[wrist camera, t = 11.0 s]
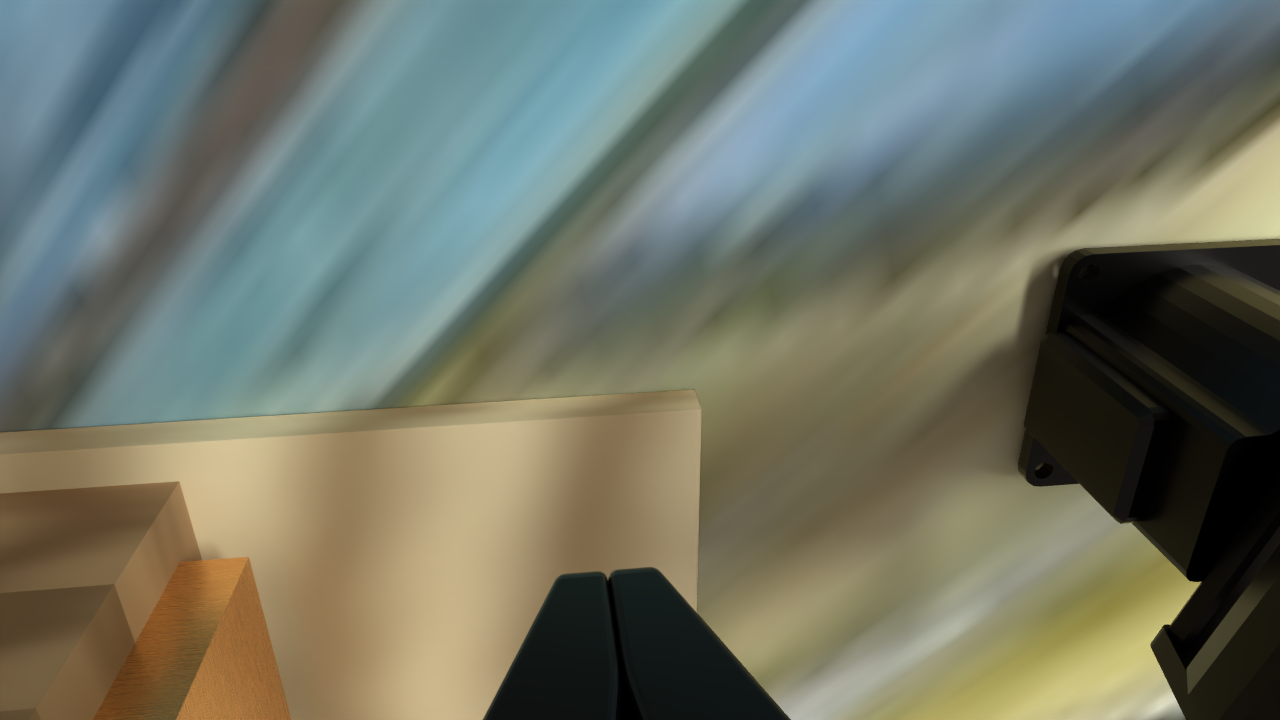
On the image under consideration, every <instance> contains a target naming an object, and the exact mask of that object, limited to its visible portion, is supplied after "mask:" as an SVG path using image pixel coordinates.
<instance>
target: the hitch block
mask: <svg viewBox="0 0 1280 720" xmlns="http://www.w3.org/2000/svg"><path fill="white" fill-rule="evenodd" d="M700 450H701V407H700V404H699V401H698V398H697V395H696V392H695V390H694V389H693V390H677V391H661V392H645V393H629V394H613V395H597V396H580V397H564V398H548V399H532V400H516V401H500V402H484V403H468V404H452V405H436V406H420V407H403V408H387V409H371V410H355V411H339V412H323V413H307V414H291V415H275V416H259V417H243V418H227V419H210V420H194V421H178V422H162V423H146V424H130V425H114V426H98V427H82V428H66V429H50V430H33V431H17V432H1V433H0V720H93V719H94V717H95V715H96V713H97V711H98V709H99V708H100V706H101V704H102V702H103V700H104V699H105V697H106V695H107V693H108V691H109V689H110V688H111V686H112V684H113V682H114V680H115V679H116V677H117V675H118V673H119V671H120V670H121V668H122V666H123V664H124V662H125V660H126V659H127V657H128V655H129V653H130V651H131V650H132V648H133V646H134V644H135V642H136V640H137V639H138V637H139V635H140V633H141V631H142V630H143V628H144V626H145V624H146V622H147V621H148V619H149V617H150V615H151V613H152V611H153V610H154V608H155V606H156V604H157V602H158V601H159V599H160V597H161V595H162V593H163V591H164V590H165V588H166V586H167V584H168V582H169V581H170V579H171V577H172V575H173V573H174V572H175V570H176V568H177V566H178V564H179V562H187V561H200V560H213V559H226V558H239V557H249V559H250V563H251V567H252V571H253V575H254V579H255V582H256V586H257V590H258V594H259V598H260V602H261V605H262V609H263V613H264V617H265V621H266V625H267V628H268V632H269V636H270V640H271V644H272V648H273V651H274V655H275V659H276V663H277V667H278V671H279V674H280V678H281V682H282V686H283V690H284V694H285V697H286V701H287V705H288V709H289V713H290V717H291V720H483V718H484V716H485V714H486V712H487V710H488V708H489V706H490V704H491V702H492V700H493V699H494V697H495V695H496V693H497V691H498V689H499V687H500V685H501V683H502V681H503V679H504V677H505V675H506V673H507V672H508V670H509V668H510V666H511V664H512V662H513V660H514V658H515V656H516V654H517V652H518V650H519V648H520V646H521V645H522V643H523V641H524V639H525V637H526V635H527V633H528V631H529V629H530V627H531V625H532V623H533V621H534V619H535V618H536V616H537V614H538V612H539V610H540V608H541V606H542V604H543V602H544V600H545V598H546V596H547V594H548V592H549V591H550V589H551V587H552V585H553V583H554V581H555V580H556V578H557V577H558V576H560V575H562V574H568V573H580V572H593V571H601V572H603V573H605V575H606V576H607V579H608V577H609V575H610V573H611V572H612V571H613V570H617V569H630V568H642V567H654V568H656V569H658V570H659V571H660V572H661V573H662V574H663V575H664V576H665V577H666V578H667V579H668V581H669V582H670V583H671V584H672V585H673V586H674V587H675V588H676V590H677V591H678V592H679V593H680V594H681V595H682V596H683V598H684V599H685V600H686V601H687V602H688V603H689V604H690V606H691V607H692V608H693V609H694V610H695V611H696V612H697V576H698V534H699V492H700Z"/></svg>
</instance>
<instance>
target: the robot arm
mask: <svg viewBox="0 0 1280 720" xmlns="http://www.w3.org/2000/svg"><path fill="white" fill-rule="evenodd" d="M1089 264H1090V269H1089V271H1088V273H1087V274H1086V275H1085V276H1083V277H1081V278H1079V273H1080V271H1081V269H1083V268H1084V267H1085V266H1086V265H1089ZM1024 427H1025V428H1026V430H1025V435H1024V439H1023V444H1022V449H1021V453H1020V458H1019V463H1018V470H1019V472H1020V473H1021V475H1022V476H1023V477H1024V478H1025V479H1026V480H1027V482H1028V483H1030V484H1031V485H1033V486H1053V485H1066V484H1081V486H1082V487H1083V488H1084V489H1085V490H1086V491H1087V492H1088V493H1089V494H1090V495H1091V496H1092V497H1093V498H1094V499H1095V500H1096V501H1097V502H1098V503H1099V504H1100V505H1101V506H1102V507H1103V508H1104V509H1105V510H1106V511H1107V512H1108V513H1109V514H1110V515H1111V516H1112V517H1113V518H1114V519H1115V520H1116V521H1117V522H1119V523H1121V524H1122V523H1132V524H1133V525H1134V526H1135V527H1136V528H1137V529H1138V530H1139V531H1140V532H1141V533H1142V534H1143V535H1144V536H1145V537H1146V538H1147V539H1148V540H1149V541H1150V542H1151V543H1152V544H1153V545H1154V546H1155V547H1156V548H1157V549H1158V550H1159V551H1160V552H1161V553H1162V554H1163V555H1164V556H1165V557H1166V558H1167V559H1168V560H1169V561H1170V562H1171V563H1172V564H1173V565H1174V566H1175V567H1176V568H1177V569H1178V570H1179V571H1180V572H1181V573H1182V574H1183V575H1184V576H1185V577H1186V578H1187V579H1188V580H1189V581H1193V582H1201V581H1202V582H1201V583H1200V585H1199V586H1198V588H1197V589H1196V590H1195V592H1194V593H1193V594H1192V596H1191V597H1190V599H1189V600H1188V601H1187V603H1186V604H1185V606H1184V607H1183V608H1182V610H1181V611H1180V612H1179V614H1178V615H1177V617H1176V618H1175V619H1174V621H1173V622H1172V624H1171V625H1164V626H1163V627H1162V629H1161V630H1160V631H1159V633H1158V634H1157V636H1156V637H1155V638H1154V640H1153V641H1152V642H1151V644H1150V645H1151V648H1152V650H1153V652H1154V655H1155V657H1156V659H1157V661H1158V663H1159V665H1160V667H1161V669H1162V671H1163V673H1164V675H1165V677H1166V679H1167V681H1168V683H1169V685H1170V687H1171V690H1172V692H1173V694H1174V696H1175V698H1176V700H1177V702H1178V704H1179V706H1180V708H1181V710H1182V712H1183V714H1184V716H1185V718H1186V720H1280V239H1268V240H1247V241H1227V242H1206V243H1186V244H1165V245H1145V246H1125V247H1104V248H1084V249H1080V250H1076V251H1074V252H1073V253H1071V254H1070V255H1068V257H1067V258H1066V259H1065V260H1064V261H1063V263H1062V266H1061V268H1060V271H1059V276H1058V281H1057V285H1056V290H1055V295H1054V299H1053V304H1052V309H1051V313H1050V318H1049V323H1048V327H1047V332H1046V336H1045V338H1044V339H1043V341H1042V342H1041V345H1040V350H1039V355H1038V359H1037V364H1036V369H1035V373H1034V378H1033V383H1032V388H1031V392H1030V397H1029V402H1028V406H1027V411H1026V416H1025V420H1024ZM1042 463H1044V465H1043V466H1042V467H1041V468H1040V469H1038V470H1035V469H1036V467H1037V466H1039V465H1040V464H1042ZM483 720H791V719H790V718H789V717H788V716H787V715H786V714H785V713H784V711H783V710H782V709H781V708H780V707H779V706H778V705H777V703H776V702H775V701H774V700H773V699H772V698H771V697H770V696H769V694H768V693H767V692H766V691H765V690H764V689H763V688H762V686H761V685H760V684H759V683H758V682H757V681H756V680H755V678H754V677H753V676H752V675H751V674H750V673H749V672H748V670H747V669H746V668H745V667H744V666H743V665H742V664H741V663H740V661H739V660H738V659H737V658H736V657H735V656H734V655H733V653H732V652H731V651H730V650H729V649H728V648H727V647H726V645H725V644H724V643H723V642H722V641H721V640H720V639H719V637H718V636H717V635H716V634H715V633H714V632H713V631H712V629H711V628H710V627H709V626H708V625H707V624H706V623H705V622H704V620H703V619H702V618H701V617H700V616H699V615H698V614H697V612H696V611H695V610H694V609H693V608H692V607H691V606H690V604H689V603H688V602H687V601H686V600H685V599H684V598H683V596H682V595H681V594H680V593H679V592H678V591H677V590H676V588H675V587H674V586H673V585H672V584H671V583H670V582H669V581H668V579H667V578H666V577H665V576H664V575H663V574H662V573H661V572H660V571H659V570H658V569H656V568H654V567H642V568H630V569H617V570H613V571H612V572H611V573H610V575H609V577H608V579H607V576H606V575H605V573H603V572H601V571H593V572H580V573H568V574H562V575H560V576H558V577H557V578H556V580H555V581H554V583H553V585H552V587H551V589H550V591H549V592H548V594H547V596H546V598H545V600H544V602H543V604H542V606H541V608H540V610H539V612H538V614H537V616H536V618H535V619H534V621H533V623H532V625H531V627H530V629H529V631H528V633H527V635H526V637H525V639H524V641H523V643H522V645H521V646H520V648H519V650H518V652H517V654H516V656H515V658H514V660H513V662H512V664H511V666H510V668H509V670H508V672H507V673H506V675H505V677H504V679H503V681H502V683H501V685H500V687H499V689H498V691H497V693H496V695H495V697H494V699H493V700H492V702H491V704H490V706H489V708H488V710H487V712H486V714H485V716H484V718H483Z"/></svg>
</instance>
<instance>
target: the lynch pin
mask: <svg viewBox="0 0 1280 720" xmlns="http://www.w3.org/2000/svg"><path fill="white" fill-rule="evenodd" d="M93 720H291V717H290V713H289V709H288V705H287V701H286V697H285V694H284V690H283V686H282V682H281V678H280V674H279V671H278V667H277V663H276V659H275V655H274V651H273V648H272V644H271V640H270V636H269V632H268V628H267V625H266V621H265V617H264V613H263V609H262V605H261V602H260V598H259V594H258V590H257V586H256V582H255V579H254V575H253V571H252V567H251V563H250V559H249V557H239V558H226V559H213V560H200V561H187V562H179V564H178V566H177V568H176V570H175V572H174V573H173V575H172V577H171V579H170V581H169V582H168V584H167V586H166V588H165V590H164V591H163V593H162V595H161V597H160V599H159V601H158V602H157V604H156V606H155V608H154V610H153V611H152V613H151V615H150V617H149V619H148V621H147V622H146V624H145V626H144V628H143V630H142V631H141V633H140V635H139V637H138V639H137V640H136V642H135V644H134V646H133V648H132V650H131V651H130V653H129V655H128V657H127V659H126V660H125V662H124V664H123V666H122V668H121V670H120V671H119V673H118V675H117V677H116V679H115V680H114V682H113V684H112V686H111V688H110V689H109V691H108V693H107V695H106V697H105V699H104V700H103V702H102V704H101V706H100V708H99V709H98V711H97V713H96V715H95V717H94V719H93Z"/></svg>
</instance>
